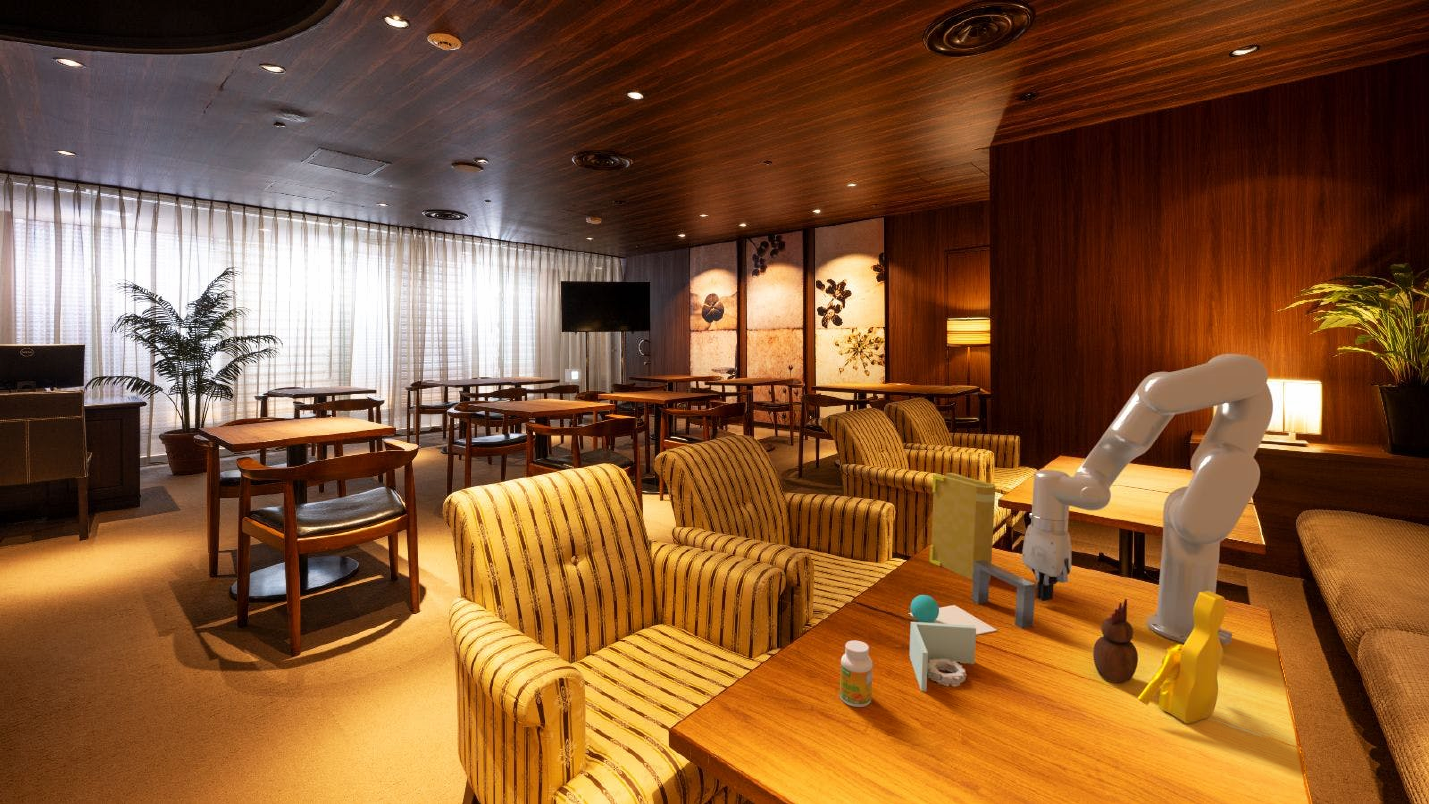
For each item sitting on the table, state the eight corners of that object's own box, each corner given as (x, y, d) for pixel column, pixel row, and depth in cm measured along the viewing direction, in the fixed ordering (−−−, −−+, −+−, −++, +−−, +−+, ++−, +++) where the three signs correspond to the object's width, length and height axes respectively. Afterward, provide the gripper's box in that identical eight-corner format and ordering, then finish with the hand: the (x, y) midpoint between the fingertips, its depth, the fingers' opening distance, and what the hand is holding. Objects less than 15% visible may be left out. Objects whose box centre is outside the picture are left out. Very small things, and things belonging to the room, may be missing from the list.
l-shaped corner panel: (921, 692, 108) (922, 652, 108) (909, 657, 120) (910, 621, 119) (991, 698, 107) (994, 657, 106) (972, 662, 119) (974, 625, 118)
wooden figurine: (1120, 669, 116) (1126, 593, 114) (1142, 686, 110) (1149, 607, 108) (1085, 669, 116) (1091, 594, 114) (1106, 687, 110) (1112, 607, 108)
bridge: (981, 598, 147) (983, 560, 146) (1032, 626, 133) (1035, 583, 132) (971, 600, 146) (973, 561, 145) (1022, 628, 132) (1024, 585, 131)
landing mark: (996, 630, 131) (997, 630, 131) (947, 640, 126) (947, 639, 126) (954, 605, 143) (954, 605, 143) (908, 613, 139) (908, 613, 139)
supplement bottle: (834, 700, 106) (835, 647, 105) (848, 686, 110) (849, 635, 109) (863, 712, 102) (865, 657, 101) (876, 697, 106) (878, 644, 105)
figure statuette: (1195, 691, 109) (1206, 573, 106) (1246, 717, 101) (1259, 590, 99) (1125, 712, 102) (1135, 586, 100) (1173, 741, 95) (1185, 606, 93)
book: (929, 561, 171) (933, 474, 169) (947, 558, 174) (951, 472, 172) (977, 583, 156) (982, 488, 154) (996, 579, 159) (1001, 485, 156)
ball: (930, 633, 132) (949, 614, 133) (917, 616, 130) (936, 596, 131) (913, 620, 138) (931, 601, 139) (900, 604, 136) (918, 585, 137)
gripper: (1011, 516, 147) (1007, 588, 149) (1065, 535, 133) (1059, 615, 135) (1035, 513, 150) (1030, 584, 152) (1090, 531, 136) (1084, 610, 138)
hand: (1044, 598), depth 143 cm, fingers closed
